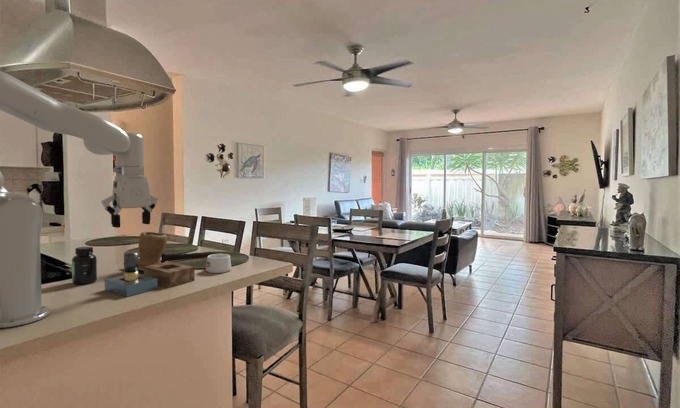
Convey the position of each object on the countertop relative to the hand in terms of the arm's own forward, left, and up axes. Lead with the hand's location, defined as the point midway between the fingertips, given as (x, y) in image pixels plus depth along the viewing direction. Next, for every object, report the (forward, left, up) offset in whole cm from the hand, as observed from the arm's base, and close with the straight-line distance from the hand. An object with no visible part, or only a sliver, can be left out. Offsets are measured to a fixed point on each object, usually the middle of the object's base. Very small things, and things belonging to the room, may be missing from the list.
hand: (131, 225), depth 114 cm
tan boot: (+18, +20, -21) cm, 34 cm away
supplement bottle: (-4, +20, -21) cm, 29 cm away
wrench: (+36, +20, -21) cm, 47 cm away
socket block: (0, 0, -21) cm, 21 cm away
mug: (+33, -3, -21) cm, 39 cm away
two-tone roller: (0, 0, -21) cm, 21 cm away
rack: (+13, -1, -21) cm, 24 cm away
